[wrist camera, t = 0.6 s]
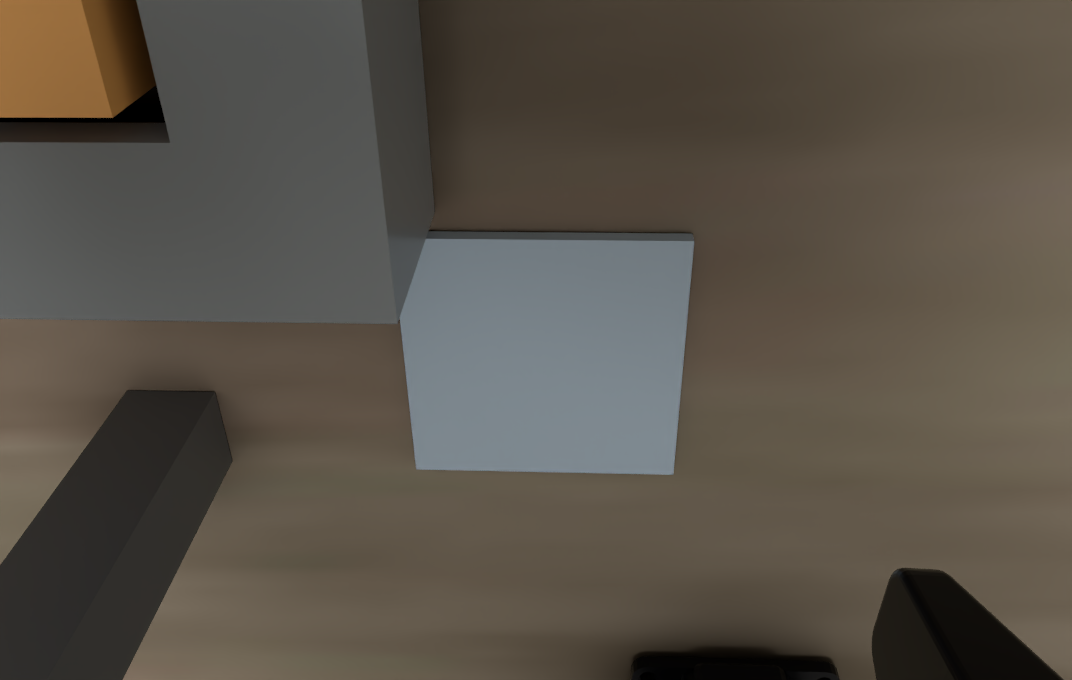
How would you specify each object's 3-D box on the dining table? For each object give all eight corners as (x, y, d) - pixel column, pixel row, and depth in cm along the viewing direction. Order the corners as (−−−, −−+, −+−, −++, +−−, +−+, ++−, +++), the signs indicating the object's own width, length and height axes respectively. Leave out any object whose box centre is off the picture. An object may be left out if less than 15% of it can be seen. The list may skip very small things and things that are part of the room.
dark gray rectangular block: (232, 461, 26) (59, 805, 17) (148, 459, 26) (-64, 800, 17) (215, 391, 24) (18, 727, 16) (126, 390, 24) (-115, 722, 16)
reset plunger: (182, 65, 17) (112, 118, 14) (36, 64, 17) (-58, 117, 15) (146, -101, 16) (60, -74, 13) (-13, -99, 16) (-128, -73, 13)
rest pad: (672, 465, 25) (673, 474, 25) (418, 459, 25) (416, 469, 25) (692, 233, 21) (694, 241, 21) (394, 230, 21) (391, 238, 21)
